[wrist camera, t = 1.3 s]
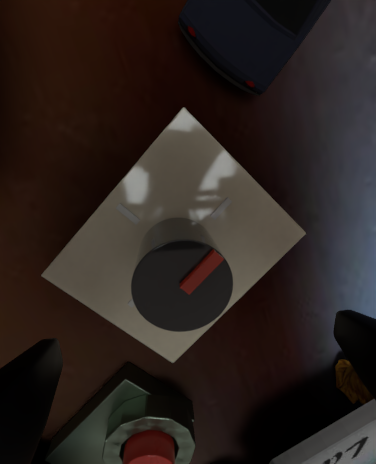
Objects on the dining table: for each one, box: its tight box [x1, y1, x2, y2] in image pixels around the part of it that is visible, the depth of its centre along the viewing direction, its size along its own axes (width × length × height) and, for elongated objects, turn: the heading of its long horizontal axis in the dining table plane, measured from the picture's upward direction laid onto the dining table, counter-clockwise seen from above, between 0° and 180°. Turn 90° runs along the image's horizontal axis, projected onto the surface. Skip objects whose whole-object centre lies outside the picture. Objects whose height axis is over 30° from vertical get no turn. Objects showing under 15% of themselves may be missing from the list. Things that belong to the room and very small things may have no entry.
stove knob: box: [131, 218, 233, 332], centre depth 13 cm, size 4×4×4 cm
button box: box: [45, 362, 196, 464], centre depth 20 cm, size 11×8×4 cm
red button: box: [122, 430, 175, 464], centre depth 18 cm, size 4×4×2 cm
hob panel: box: [41, 107, 306, 363], centre depth 16 cm, size 12×10×3 cm
